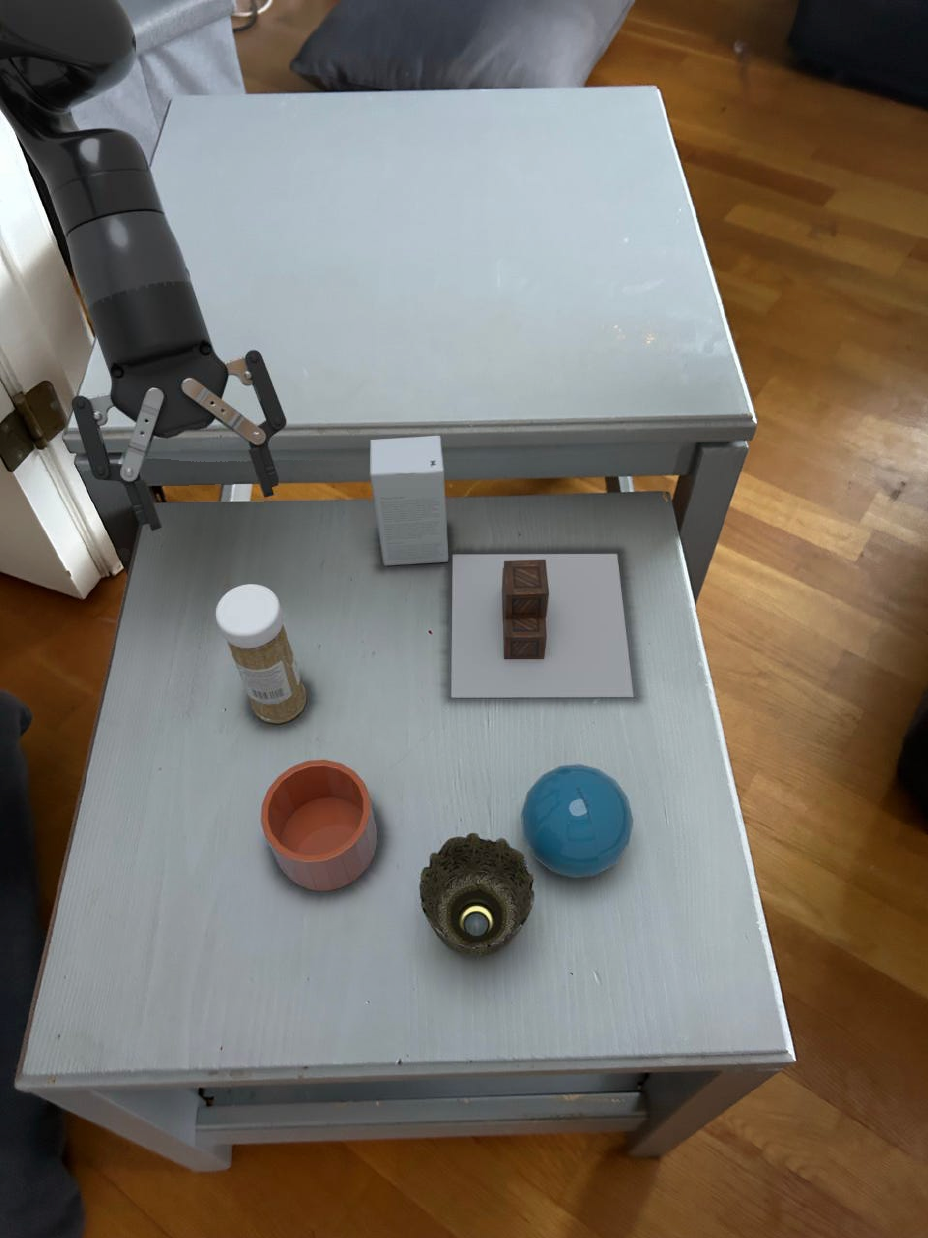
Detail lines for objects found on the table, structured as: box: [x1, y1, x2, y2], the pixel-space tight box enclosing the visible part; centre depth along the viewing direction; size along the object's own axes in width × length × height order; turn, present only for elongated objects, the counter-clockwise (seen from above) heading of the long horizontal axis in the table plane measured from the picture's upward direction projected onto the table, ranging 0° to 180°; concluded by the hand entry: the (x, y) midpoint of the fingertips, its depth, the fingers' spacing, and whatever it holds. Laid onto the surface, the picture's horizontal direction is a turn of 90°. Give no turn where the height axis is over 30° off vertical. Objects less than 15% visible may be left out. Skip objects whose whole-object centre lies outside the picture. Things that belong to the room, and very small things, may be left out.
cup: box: [418, 832, 535, 958], centre depth 64 cm, size 8×7×8 cm
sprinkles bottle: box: [215, 583, 307, 724], centre depth 72 cm, size 5×5×14 cm
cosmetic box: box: [369, 435, 449, 566], centre depth 82 cm, size 6×4×12 cm
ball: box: [520, 763, 634, 879], centre depth 67 cm, size 8×8×8 cm
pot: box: [260, 759, 378, 892], centre depth 68 cm, size 8×8×6 cm
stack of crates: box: [450, 553, 634, 699], centre depth 79 cm, size 15×15×7 cm
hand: (214, 512), depth 71 cm, fingers open, 8 cm apart
